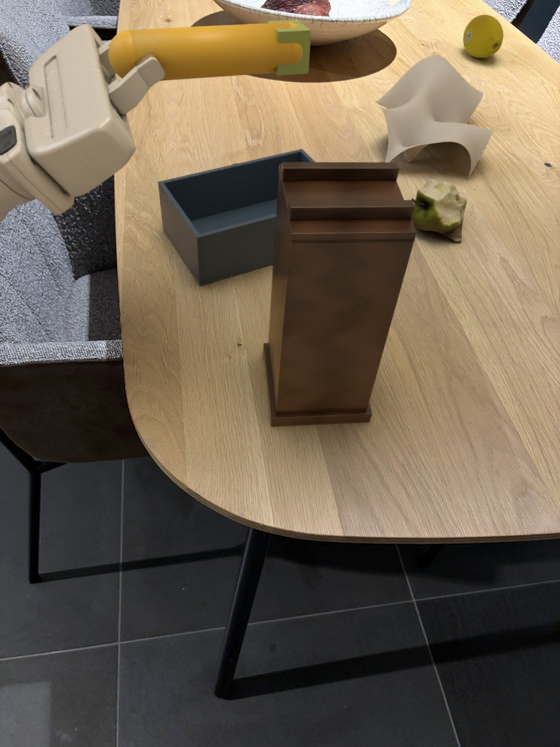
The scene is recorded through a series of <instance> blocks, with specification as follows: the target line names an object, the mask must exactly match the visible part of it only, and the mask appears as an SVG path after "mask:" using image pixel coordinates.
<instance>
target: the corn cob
mask: <svg viewBox="0 0 560 747" xmlns="http://www.w3.org/2000/svg"><path fill="white" fill-rule="evenodd" d="M311 33H312V30H311V29H310V28H309V27H308V26H307V25H306V24H304V23H303V22H302V21H300V20H299V19H286V20H285V19H283V20H281V19H280V20H267V21H266V22H264V23H243V24H221V25H220V24H219V25H202V26H184V27H183V26H180V27H163V28H145V29H138V30H136V29H125V30H122V31H120V32H118V33H117V34H116V35H114V37H113V38H112V39H111V40H112V41H111V43H110V46H109V51H108V55H109V61H110V64H111V66H112V69H113V70H114V71H115V73H116V76H117V77H119V78H121V80H122V79H123V78H124V77H125V76H126V75H127V74H128V73H129V72H130V71H131V70H132V69H133V68H134V67H135V66H136V65H135V62H136V61H137V60H138V59H140V58H142V57H144V56H145V55H146V54H147V53H154V54H155V56H156V57H157V59H158V60H159V62H160V63H161V65H162V67H163V69H164V72H165V76H164V78H163V79H162V80H160V81H159V82H165V81H177V80H178V81H180V80H194V79H207V78H209V79H210V78H219V77H220V78H223V77H234V76H235V77H237V76H239V77H240V76H251V75H265V74H266V75H267V74H275V75H276V76H277V77H279V76H293V75H294V76H295V75H308V74H310V73H309V72H310V71H309V70H310V68H309V67H310V54H311V36H312V34H311Z"/></svg>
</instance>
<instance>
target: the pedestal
mask: <svg viewBox="0 0 560 747" xmlns="http://www.w3.org/2000/svg"><path fill="white" fill-rule="evenodd" d="M399 172H400V166H399V164H398V162H397V161H390V162H385V161H315V162H282V164H279V179H278V195H277V211H276V227H275V243H274V259H273V264H272V277H271V289H270V290H271V292H270V308H269V324H268V339H267V342H263V344H262V355H263V366H264V375H265V383H266V385H265V386H266V393H267V403H268V413H269V422H270V426H271V427H283V426H284V427H287V426H308V425H327V424H328V425H330V424H351V423H370V422H371V419H372V416H373V412H372V407H371V403H370V400H371V398H372V397H371V396H372V393H373V389H374V386H375V382H376V380H377V375H378V371H379V369H380V364H381V361H382V357H383V353H384V351H385V347H386V344H387V340H388V336H389V333H390V329H391V325H392V322H393V318H394V315H395V311H396V308H397V305H398V300H399V297H400V293H401V290H402V286H403V284H404V279H405V276H406V272H407V269H408V265H409V263H410V262H409V261H410V259H411V258H410V257H411V254H412V250H413V247H414V243H415V241H416V236H417V233H418V232H417V230H416V229H417V228H416V227H415V226H414V224H413V221H412V216H413V212H414V209H415V206H414V203H413V201H412V200H411V199H404V196H403V193H402V191H401V188H400V186H399V183H398V177H399Z"/></svg>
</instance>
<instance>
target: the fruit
mask: <svg viewBox="0 0 560 747" xmlns="http://www.w3.org/2000/svg"><path fill="white" fill-rule="evenodd" d="M459 193H460V192H459V191H458V189H457V187H456V185H455V184H453V183H450V182H447V181H443V182H442V181H438V180H437V179H435V178H432V179H428V180H426V182H425V183H424V184H423V188H419V189H417V191H416V196H415V198H413V197H412V198H411V199H410V200H412V201H413V203H414V206H415V209H414V212H413V216H412V221H413V224H414V226H415V229H417V230H419V231H422V232H424V231H433V232H436V233H440V234H443V235H445V236H446V237H448V239H451V240H452V241H454V242H456V243H462V242H463V222H464V216H465V212H466V208H467V204H468V200H467V198H466V197H463V196H460V195H459Z"/></svg>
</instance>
